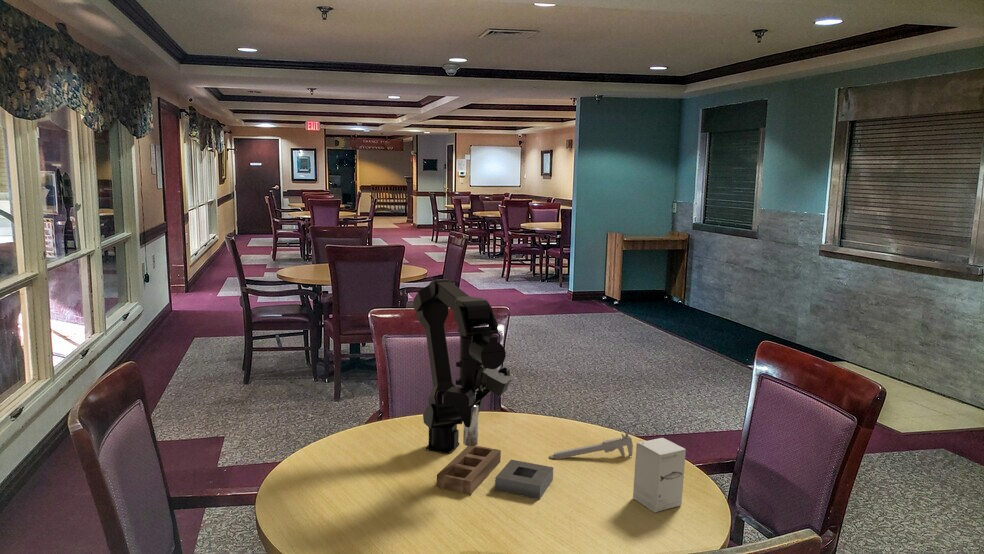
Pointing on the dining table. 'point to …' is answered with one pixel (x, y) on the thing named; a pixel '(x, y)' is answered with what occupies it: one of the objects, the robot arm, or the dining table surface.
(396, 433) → the dining table surface
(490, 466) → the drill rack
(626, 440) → the caliper
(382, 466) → the dining table surface
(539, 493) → the socket block
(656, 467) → the supplement box
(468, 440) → the metal peg
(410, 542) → the dining table surface
